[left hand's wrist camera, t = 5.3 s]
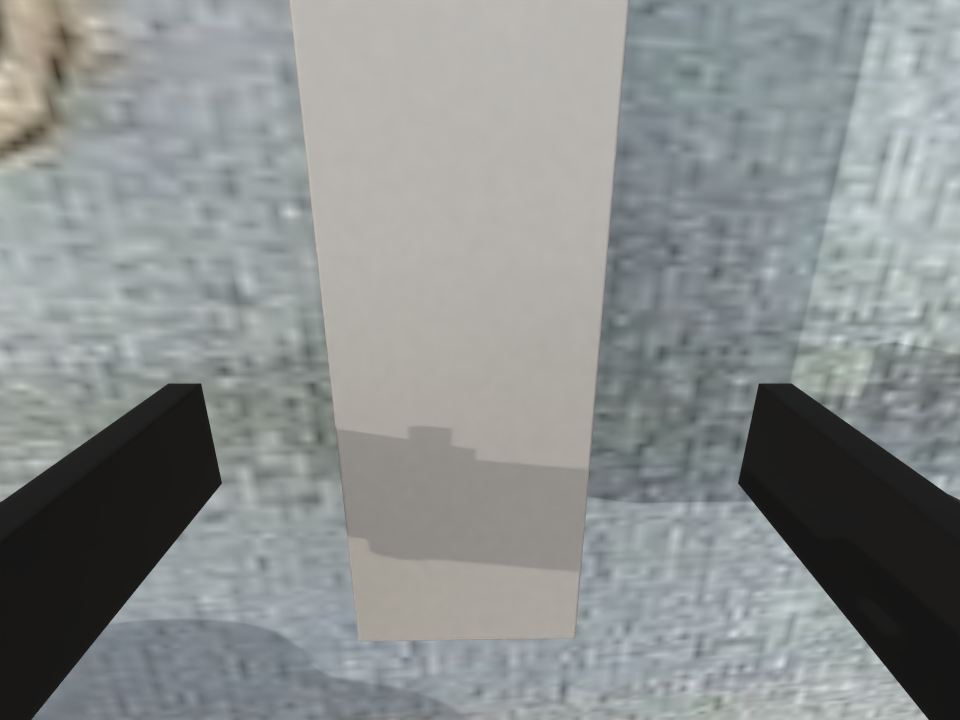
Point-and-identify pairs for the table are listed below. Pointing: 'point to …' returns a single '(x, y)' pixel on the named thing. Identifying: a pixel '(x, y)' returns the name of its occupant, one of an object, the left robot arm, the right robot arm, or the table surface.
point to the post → (462, 296)
